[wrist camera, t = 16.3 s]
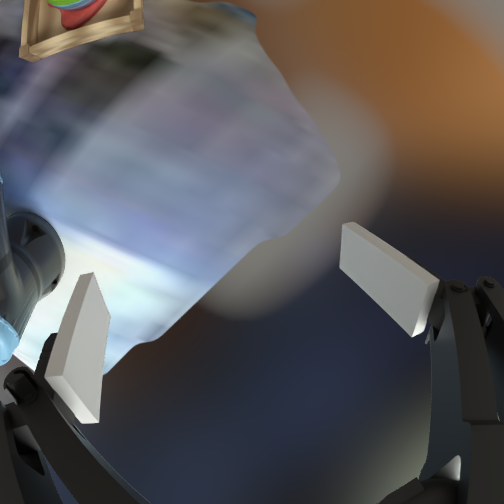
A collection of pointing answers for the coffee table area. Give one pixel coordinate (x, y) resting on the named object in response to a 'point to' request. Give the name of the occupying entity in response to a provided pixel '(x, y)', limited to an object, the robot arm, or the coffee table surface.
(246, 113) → the coffee table surface
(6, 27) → the coffee table surface
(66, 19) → the stacking bear
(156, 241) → the coffee table surface
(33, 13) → the crate
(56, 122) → the coffee table surface
